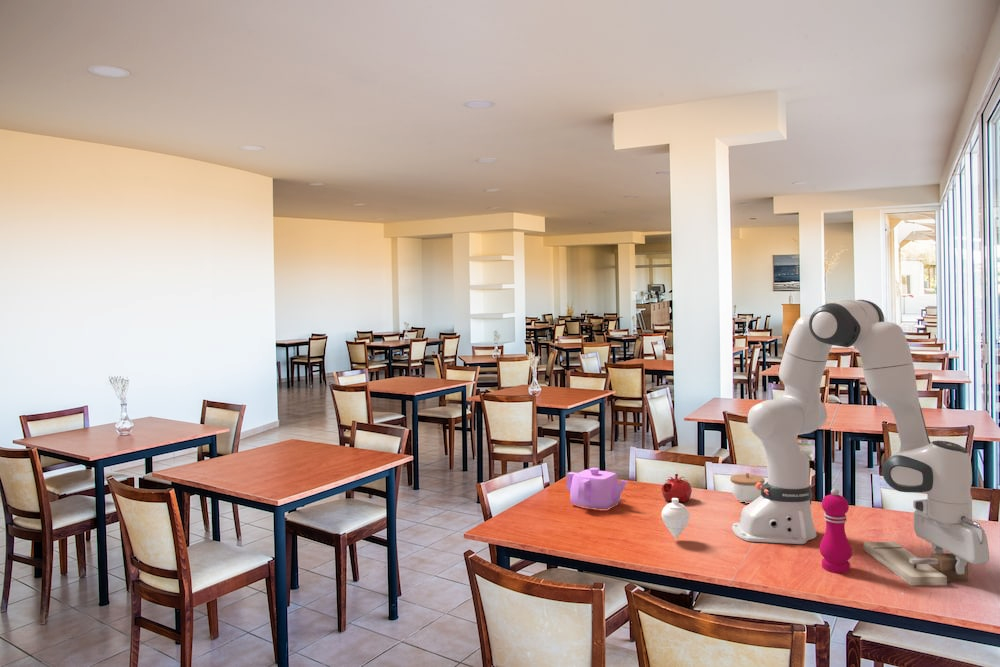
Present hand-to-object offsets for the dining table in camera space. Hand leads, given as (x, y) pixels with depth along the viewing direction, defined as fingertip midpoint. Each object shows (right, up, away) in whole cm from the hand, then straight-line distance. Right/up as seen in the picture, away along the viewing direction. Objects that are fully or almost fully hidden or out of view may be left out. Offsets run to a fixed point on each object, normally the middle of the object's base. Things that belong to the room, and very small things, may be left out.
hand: (949, 568), depth 161 cm
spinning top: (-57, -3, +31) cm, 65 cm away
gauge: (-3, -2, 0) cm, 4 cm away
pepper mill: (-23, -3, +7) cm, 25 cm away
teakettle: (-74, -2, +68) cm, 100 cm away
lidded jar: (-24, 0, +66) cm, 70 cm away
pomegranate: (-47, -1, +69) cm, 83 cm away
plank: (-7, -2, +7) cm, 10 cm away
